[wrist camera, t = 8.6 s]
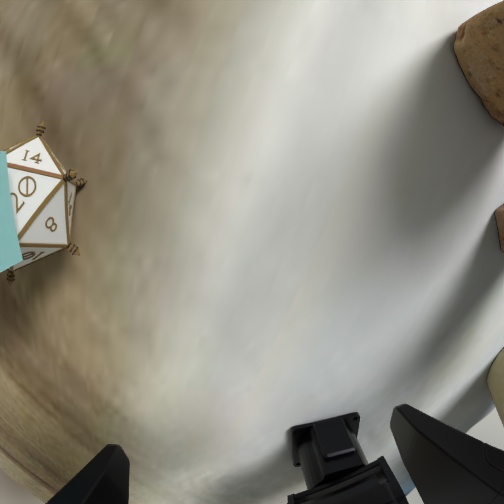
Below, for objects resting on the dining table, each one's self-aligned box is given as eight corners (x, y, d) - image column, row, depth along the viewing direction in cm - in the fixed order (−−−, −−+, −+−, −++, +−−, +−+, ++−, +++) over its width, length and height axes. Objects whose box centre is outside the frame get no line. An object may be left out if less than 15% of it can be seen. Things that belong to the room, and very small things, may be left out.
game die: (71, 168, 21) (37, 69, 12) (126, 242, 20) (96, 144, 11) (-13, 235, 17) (-80, 161, 8) (31, 323, 16) (-61, 277, 7)
